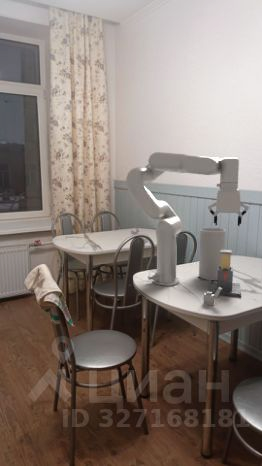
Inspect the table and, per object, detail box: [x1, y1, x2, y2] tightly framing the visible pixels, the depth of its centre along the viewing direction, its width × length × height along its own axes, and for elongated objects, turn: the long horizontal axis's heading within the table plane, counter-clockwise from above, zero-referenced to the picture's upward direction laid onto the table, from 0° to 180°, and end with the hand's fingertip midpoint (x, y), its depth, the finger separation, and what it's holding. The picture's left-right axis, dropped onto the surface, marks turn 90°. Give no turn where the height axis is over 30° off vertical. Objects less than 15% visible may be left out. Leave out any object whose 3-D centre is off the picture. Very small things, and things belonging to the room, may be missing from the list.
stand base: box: [207, 266, 242, 298], centre depth 154 cm, size 14×14×11 cm
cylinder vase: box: [198, 227, 227, 281], centre depth 172 cm, size 12×12×25 cm
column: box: [220, 249, 233, 270], centre depth 153 cm, size 5×5×17 cm
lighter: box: [202, 287, 222, 307], centre depth 138 cm, size 7×2×8 cm, turn 61°
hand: (227, 225), depth 149 cm, fingers open, 9 cm apart
